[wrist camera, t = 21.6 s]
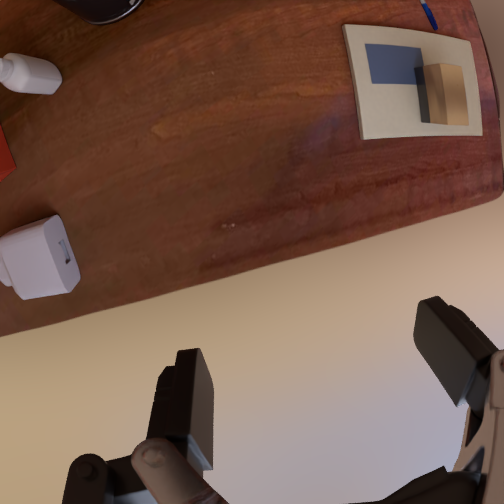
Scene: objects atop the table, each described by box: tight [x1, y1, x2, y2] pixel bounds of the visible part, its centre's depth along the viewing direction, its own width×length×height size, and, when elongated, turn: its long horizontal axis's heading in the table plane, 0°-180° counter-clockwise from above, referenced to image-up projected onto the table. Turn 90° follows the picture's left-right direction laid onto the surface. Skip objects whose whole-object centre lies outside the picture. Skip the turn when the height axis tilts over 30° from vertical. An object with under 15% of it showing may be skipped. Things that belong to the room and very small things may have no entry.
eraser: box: [414, 63, 469, 126], centre depth 27 cm, size 7×4×6 cm, turn 10°
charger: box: [0, 215, 80, 300], centre depth 33 cm, size 5×9×15 cm
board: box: [342, 24, 482, 139], centre depth 29 cm, size 14×20×1 cm
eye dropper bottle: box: [0, 53, 62, 94], centre depth 21 cm, size 4×6×12 cm
